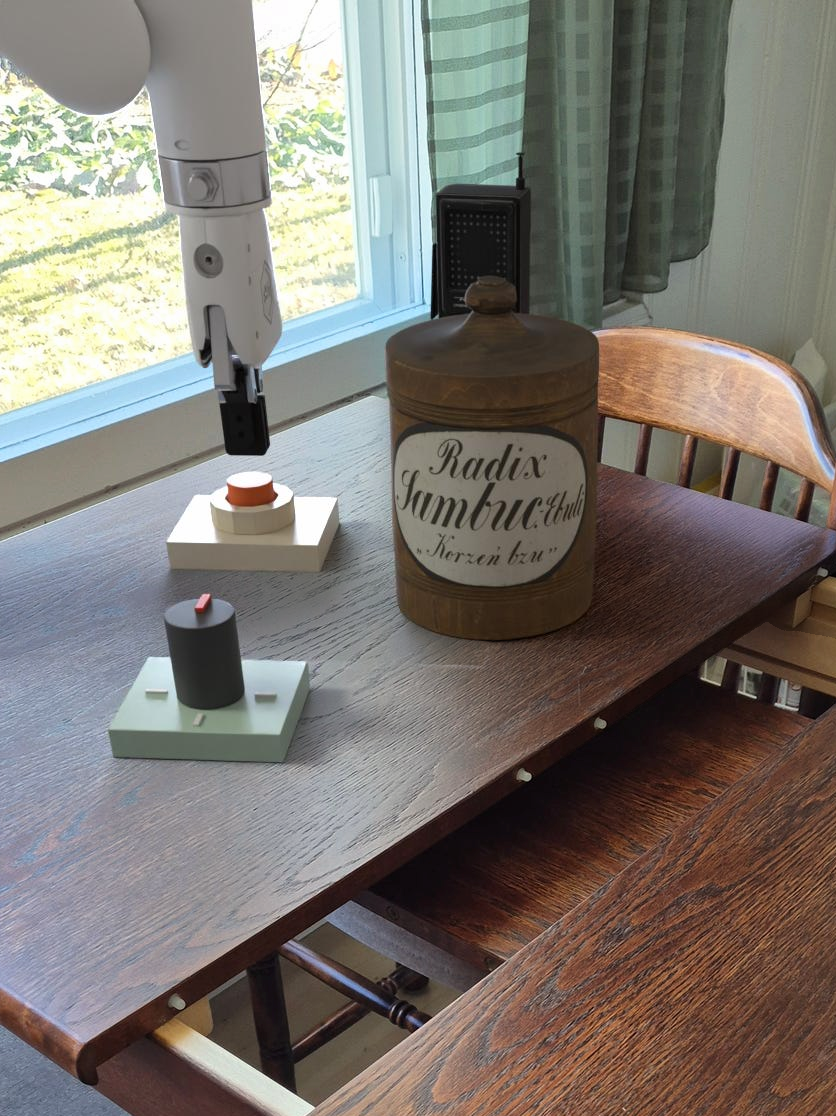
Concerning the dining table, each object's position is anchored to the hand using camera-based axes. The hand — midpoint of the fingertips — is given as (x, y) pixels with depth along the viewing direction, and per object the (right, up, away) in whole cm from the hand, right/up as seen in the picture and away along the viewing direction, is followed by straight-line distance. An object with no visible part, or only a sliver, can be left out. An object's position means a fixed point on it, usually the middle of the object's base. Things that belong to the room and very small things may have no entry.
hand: (248, 451), depth 111 cm
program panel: (+1, -25, -17) cm, 30 cm away
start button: (0, -3, +2) cm, 4 cm away
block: (0, -6, +5) cm, 8 cm away
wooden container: (+19, -13, -3) cm, 23 cm away
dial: (+1, -23, -18) cm, 30 cm away
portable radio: (+18, +3, +15) cm, 24 cm away
